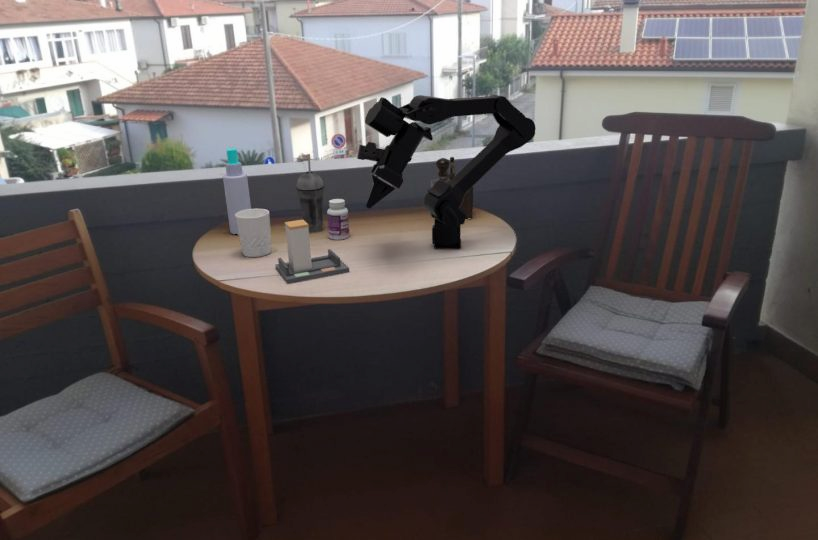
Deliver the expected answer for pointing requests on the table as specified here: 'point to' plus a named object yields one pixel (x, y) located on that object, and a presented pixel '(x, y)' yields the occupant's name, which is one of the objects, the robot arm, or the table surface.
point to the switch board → (313, 268)
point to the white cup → (254, 232)
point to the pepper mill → (442, 167)
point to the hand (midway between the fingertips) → (367, 207)
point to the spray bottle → (235, 189)
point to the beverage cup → (311, 198)
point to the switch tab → (298, 245)
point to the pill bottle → (338, 220)
